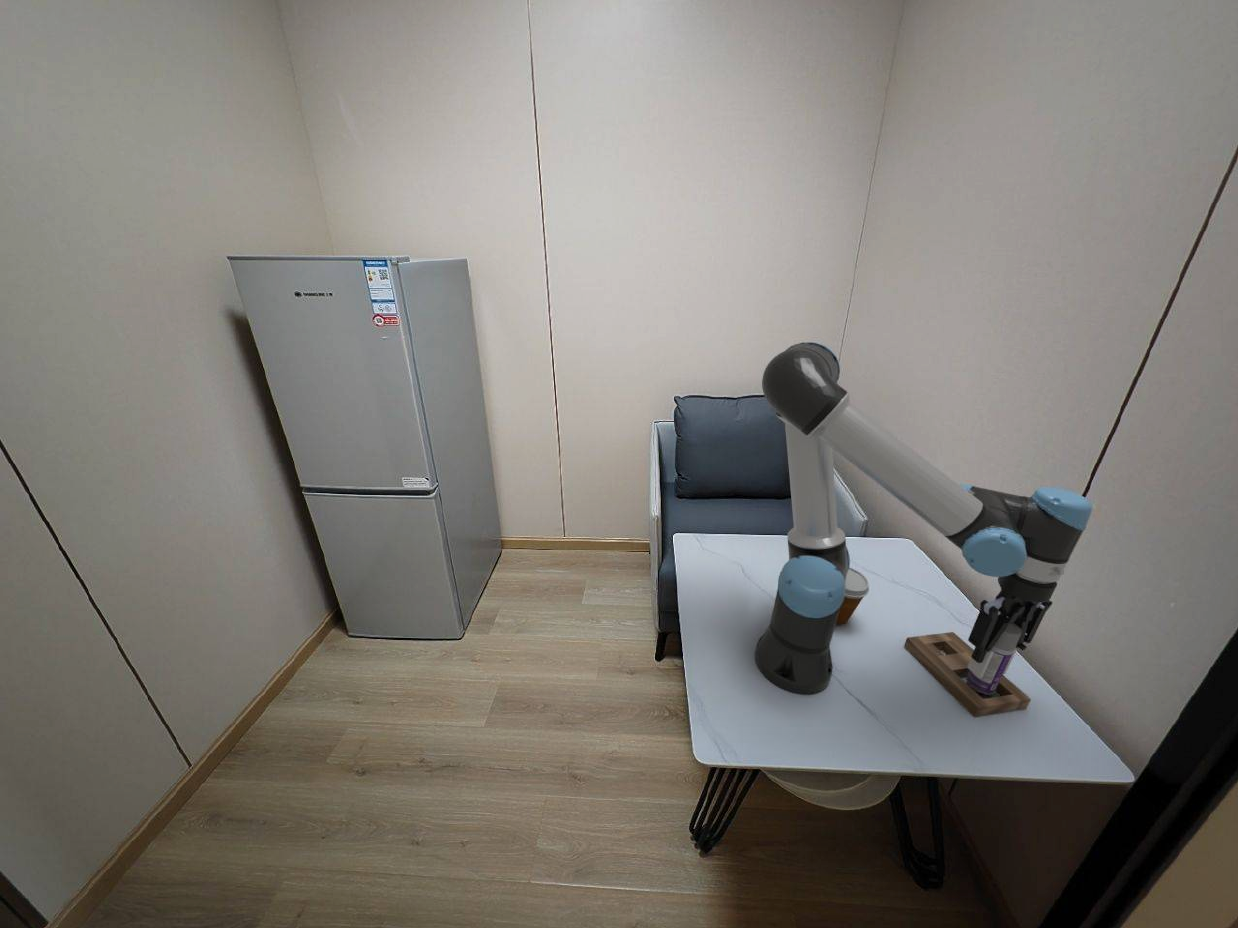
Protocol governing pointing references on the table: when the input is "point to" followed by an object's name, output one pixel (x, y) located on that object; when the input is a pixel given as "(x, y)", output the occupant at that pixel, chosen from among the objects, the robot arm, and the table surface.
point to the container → (996, 661)
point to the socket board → (962, 674)
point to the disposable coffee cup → (852, 594)
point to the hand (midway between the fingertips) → (986, 670)
